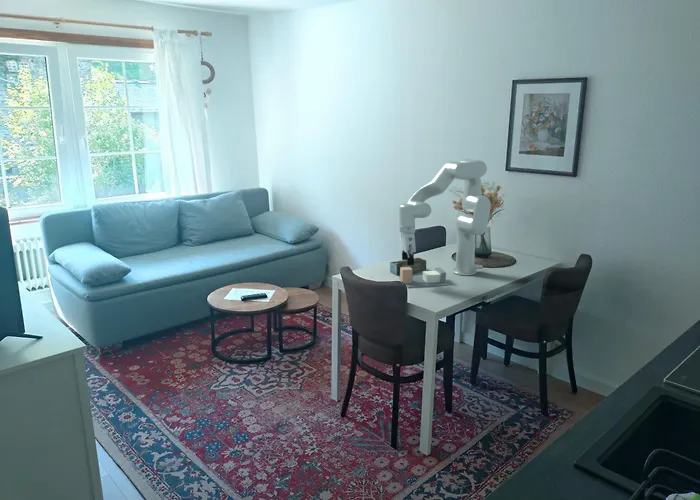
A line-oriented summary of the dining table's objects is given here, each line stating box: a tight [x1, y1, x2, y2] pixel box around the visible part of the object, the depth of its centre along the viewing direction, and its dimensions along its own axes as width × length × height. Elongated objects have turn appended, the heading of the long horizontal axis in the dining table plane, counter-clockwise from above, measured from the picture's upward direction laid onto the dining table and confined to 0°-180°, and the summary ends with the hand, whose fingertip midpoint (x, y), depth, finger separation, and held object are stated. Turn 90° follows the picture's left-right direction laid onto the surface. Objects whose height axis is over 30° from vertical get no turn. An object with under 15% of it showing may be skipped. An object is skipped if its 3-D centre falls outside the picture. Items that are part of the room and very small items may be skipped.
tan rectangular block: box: [399, 267, 414, 284], centre depth 267 cm, size 5×5×7 cm
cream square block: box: [422, 267, 447, 283], centre depth 270 cm, size 9×9×5 cm
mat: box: [404, 275, 448, 289], centre depth 270 cm, size 20×16×1 cm
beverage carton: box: [389, 257, 427, 276], centre depth 287 cm, size 8×19×7 cm, turn 116°
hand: (407, 262), depth 266 cm, fingers open, 9 cm apart
